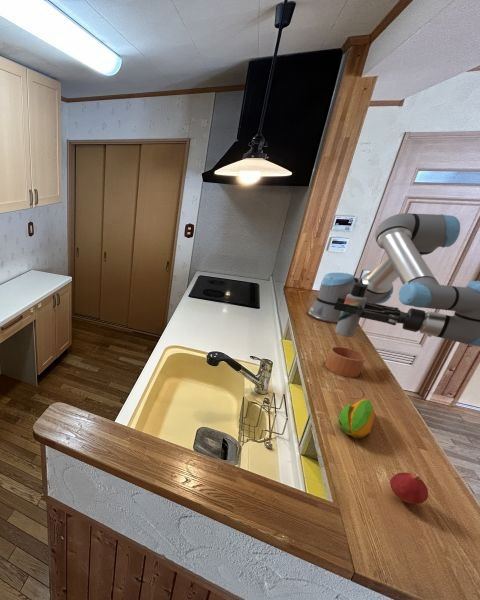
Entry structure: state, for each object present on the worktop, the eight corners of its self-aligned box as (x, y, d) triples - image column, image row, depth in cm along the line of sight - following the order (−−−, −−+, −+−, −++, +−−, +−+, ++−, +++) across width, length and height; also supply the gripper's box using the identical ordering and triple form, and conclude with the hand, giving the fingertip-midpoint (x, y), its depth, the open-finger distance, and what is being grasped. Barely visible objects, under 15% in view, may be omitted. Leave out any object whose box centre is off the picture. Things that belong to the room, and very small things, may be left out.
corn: (339, 411, 87) (356, 383, 100) (329, 432, 90) (346, 402, 103) (374, 428, 82) (387, 396, 95) (361, 450, 85) (375, 416, 98)
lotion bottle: (346, 331, 124) (364, 281, 117) (357, 337, 119) (376, 286, 112) (331, 330, 125) (347, 280, 118) (340, 336, 119) (358, 285, 112)
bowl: (350, 364, 125) (356, 348, 122) (364, 379, 116) (371, 362, 113) (320, 360, 127) (325, 344, 125) (332, 374, 118) (338, 358, 115)
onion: (378, 489, 74) (390, 463, 71) (400, 487, 75) (414, 461, 72) (403, 513, 69) (418, 486, 66) (428, 511, 69) (443, 485, 66)
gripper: (418, 341, 101) (329, 319, 116) (416, 323, 114) (336, 306, 129) (428, 319, 99) (335, 300, 113) (425, 304, 112) (342, 288, 126)
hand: (336, 303), depth 121 cm, fingers closed on lotion bottle, 6 cm apart
